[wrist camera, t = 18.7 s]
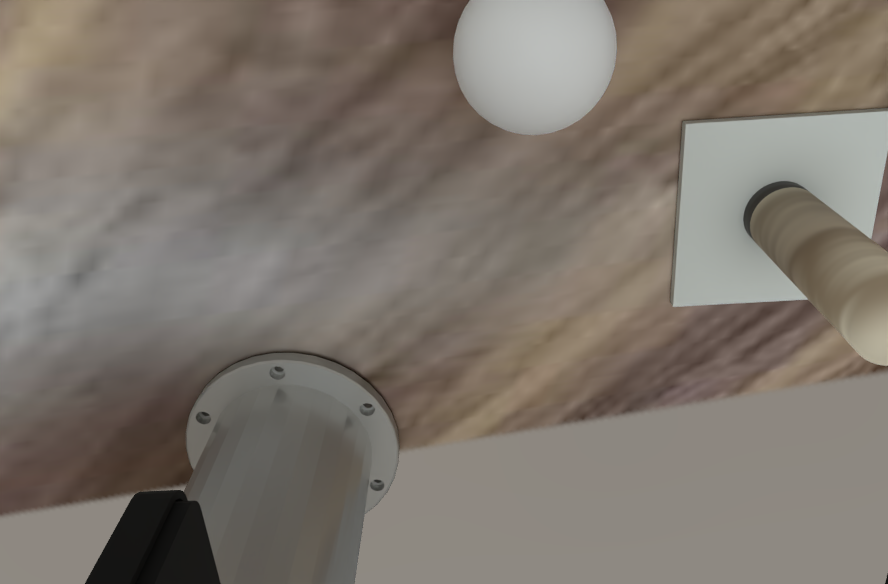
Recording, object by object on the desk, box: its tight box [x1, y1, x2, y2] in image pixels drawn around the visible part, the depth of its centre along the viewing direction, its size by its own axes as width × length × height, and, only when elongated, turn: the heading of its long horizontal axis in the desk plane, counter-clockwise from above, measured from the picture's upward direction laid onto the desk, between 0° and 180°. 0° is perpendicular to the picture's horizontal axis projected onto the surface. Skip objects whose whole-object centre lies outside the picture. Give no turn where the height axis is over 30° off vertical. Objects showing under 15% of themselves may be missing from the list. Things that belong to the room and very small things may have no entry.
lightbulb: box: [453, 0, 617, 135], centre depth 31 cm, size 6×6×11 cm
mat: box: [670, 108, 888, 307], centre depth 40 cm, size 10×10×1 cm
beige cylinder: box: [743, 181, 888, 365], centre depth 34 cm, size 4×4×12 cm
